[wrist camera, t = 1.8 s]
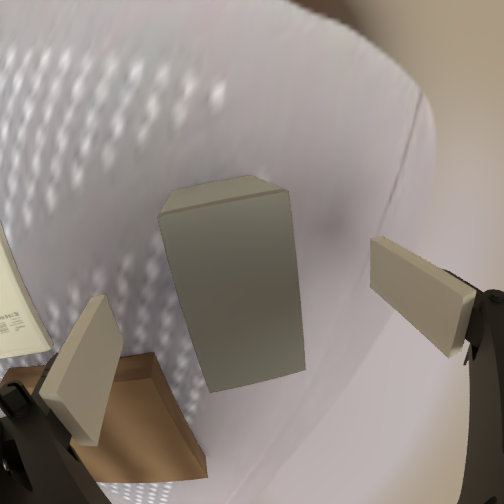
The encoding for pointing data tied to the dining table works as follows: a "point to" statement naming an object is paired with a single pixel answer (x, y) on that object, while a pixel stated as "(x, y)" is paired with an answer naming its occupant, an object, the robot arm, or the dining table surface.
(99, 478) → the walnut stand
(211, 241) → the block
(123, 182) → the dining table surface
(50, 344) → the external hard drive
